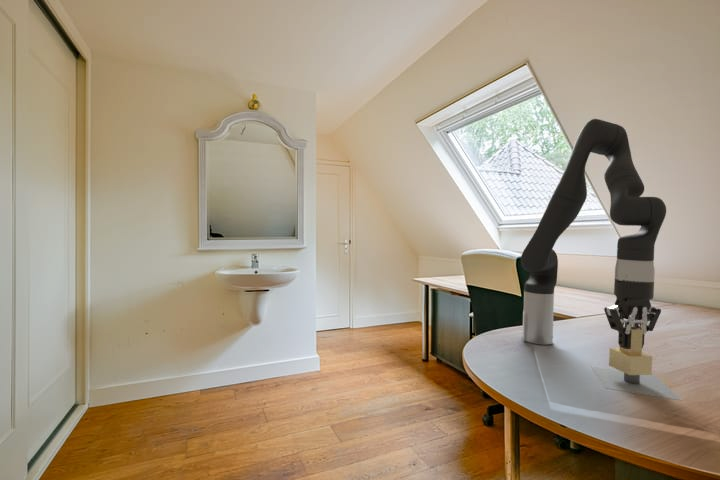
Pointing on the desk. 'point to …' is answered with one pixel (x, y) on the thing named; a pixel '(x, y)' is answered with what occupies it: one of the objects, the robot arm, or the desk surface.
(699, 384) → the desk surface
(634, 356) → the cream stepped block
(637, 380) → the thin grey square mat
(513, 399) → the desk surface
